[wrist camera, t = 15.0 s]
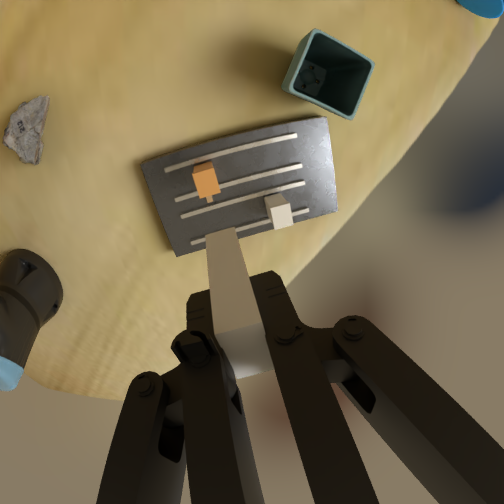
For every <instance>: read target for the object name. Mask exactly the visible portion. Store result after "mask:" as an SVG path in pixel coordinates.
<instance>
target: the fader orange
mask: <svg viewBox="0 0 504 504" xmlns="http://www.w3.org/2000/svg"><path fill="white" fill-rule="evenodd" d="M192 175H193V179H194V182H195V185H196V188H197V191H198V194H199V197H200V199H201V198H204V197H207V196H211V195H214V194H217V193H221V191H220V188H219V184H218V181H217V177H216V174H215V170H214V167H213V165H212V161H210V162H206V163H203V164H200V165H196V166H194V171H193V173H192Z"/></svg>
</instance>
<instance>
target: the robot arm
mask: <svg viewBox="0 0 504 504" xmlns="http://www.w3.org/2000/svg"><path fill="white" fill-rule="evenodd" d="M205 238H206V252H207V264H208V276H209V287H210V289H208V290H204V291H201V292H197V293H193V294H191V295H190V297H189V299H188V301H187V303H186V313H187V314H186V320H187V330H184V331H182V332H181V333H180V334H178V335H177V336H176V337H175V339H174V340H173V342H172V345H171V349H172V351H173V352H174V354H175V355H176V357H177V358H178V360H179V361H180V362H181V363H180V364H179V365H178V366H177V367H176V368H174V369H172V370H171V371H169V372H167V373H165V374H163V375H161V376H160V375H158V374H157V373H155V372H151V371H148V372H143V373H141V374H139V375H137V376H136V377H135V378H134V379H133V380H132V382H131V384H130V386H129V388H128V391H127V394H126V397H125V400H124V404H123V407H122V410H121V413H120V416H119V420H118V423H117V426H116V429H115V432H114V436H113V439H112V443H111V446H110V450H109V454H108V457H107V461H106V465H105V469H104V473H103V476H102V480H101V485H100V489H99V494H98V498H97V502H96V504H180V501H181V495H182V488H183V482H184V475H185V470H186V464H187V471H188V480H189V488H190V496H191V503H192V504H265V503H264V498H263V495H262V490H261V486H260V482H259V478H258V473H257V469H256V465H255V460H254V456H253V451H252V447H251V442H250V437H249V433H248V428H247V423H246V418H245V413H244V409H243V404H242V399H241V393H240V391H239V388H238V386H237V384H236V380H235V375H236V378H237V379H240V378H243V377H247V376H251V375H255V374H259V373H262V372H266V371H269V370H273V369H275V373H276V376H277V380H278V383H279V386H280V390H281V393H282V397H283V400H284V403H285V407H286V410H287V413H288V417H289V420H290V423H291V427H292V430H293V434H294V437H295V440H296V443H297V447H298V450H299V453H300V456H301V460H302V463H303V466H304V469H305V473H306V476H307V479H308V483H309V486H310V489H311V492H312V496H313V498H314V502H315V504H379V502H378V499H377V496H376V494H375V491H374V489H373V486H372V484H371V481H370V479H369V476H368V474H367V471H366V469H365V466H364V464H363V461H362V459H361V456H360V454H359V451H358V449H357V447H356V444H355V442H354V439H353V437H352V434H351V432H350V430H349V427H348V425H347V422H346V420H345V418H344V415H343V413H342V410H341V408H340V406H339V403H338V401H337V398H336V396H335V394H334V391H333V389H332V387H331V384H330V383H336V384H337V385H338V386H339V388H340V389H341V390H342V391H343V392H344V394H345V395H346V396H347V397H348V398H349V400H350V401H351V402H352V403H353V404H354V406H356V408H357V409H358V410H359V411H360V413H361V414H362V415H363V416H364V418H365V419H366V420H367V421H368V422H369V423H370V425H371V426H372V427H373V428H374V429H375V431H376V432H377V433H378V434H379V435H380V436H381V437H382V439H383V440H384V441H385V442H386V443H387V445H388V446H389V447H390V448H391V449H392V450H393V452H394V453H395V454H396V455H397V456H398V457H399V458H400V460H401V461H402V462H403V463H404V464H405V465H406V467H407V468H408V469H409V470H410V471H411V472H412V473H413V475H414V476H415V477H416V478H417V479H418V480H419V481H420V483H421V484H422V485H423V486H424V487H425V488H426V489H427V490H428V492H429V493H430V494H431V495H432V496H433V497H434V498H435V499H436V500H437V502H438V503H439V504H504V449H503V448H502V447H501V446H500V445H499V444H498V443H497V442H496V441H495V440H494V439H493V438H492V437H491V436H490V435H489V434H488V433H487V432H486V431H485V430H484V429H483V428H482V427H481V426H480V425H479V424H478V423H477V422H476V421H475V420H474V419H473V418H472V417H471V416H470V415H469V414H468V413H467V412H466V411H465V410H464V409H463V408H462V407H461V406H460V405H459V404H458V403H457V402H456V401H455V400H454V399H453V398H452V397H451V396H450V395H449V394H448V393H447V392H445V390H444V389H442V388H441V387H440V386H439V385H438V384H437V383H436V382H435V381H434V380H433V379H432V378H431V377H430V376H429V375H428V374H427V373H426V372H424V370H422V369H421V368H420V367H419V366H418V365H417V364H416V363H415V362H414V361H413V360H412V359H411V358H410V357H409V356H407V355H406V354H405V353H404V352H403V351H402V350H401V349H400V348H399V347H398V346H397V345H396V344H394V343H393V342H392V341H391V340H390V339H389V338H388V337H387V336H386V335H384V334H383V333H382V332H381V331H380V330H379V329H378V328H377V327H376V326H375V325H374V324H372V323H371V322H370V321H369V320H367V319H365V318H364V317H361V316H356V315H354V316H347V317H344V318H342V319H340V320H339V321H338V322H337V323H336V324H335V326H334V328H322V329H321V328H312V327H309V326H307V325H305V324H304V323H302V322H301V321H300V319H299V318H298V315H297V313H296V311H295V309H294V306H293V304H292V302H291V300H290V297H289V295H288V293H287V291H286V288H285V286H284V284H283V281H282V279H281V277H280V276H279V275H278V274H277V273H275V272H274V271H272V270H271V271H268V272H264V273H261V274H258V275H254V276H251V277H249V275H248V272H247V269H246V265H245V262H244V258H243V255H242V251H241V248H240V244H239V241H238V237H237V234H236V230H235V227H231V228H228V229H224V230H221V231H217V232H214V233H210V234H207V235H205ZM62 300H63V289H62V285H61V282H60V280H59V278H58V276H57V274H56V273H55V271H54V270H53V269H52V267H51V266H50V265H49V264H48V263H47V262H46V261H45V260H44V259H43V258H41V257H40V256H39V255H37V254H35V253H33V252H31V251H28V250H24V249H17V250H13V251H11V252H10V253H9V254H8V255H7V256H6V257H5V258H4V260H3V261H2V262H1V264H0V390H2V391H11V390H13V389H15V388H16V386H17V384H18V382H19V379H20V378H21V375H22V374H23V372H24V367H25V364H26V362H27V359H28V356H29V354H30V351H31V349H32V346H33V344H34V341H35V339H36V337H37V334H38V332H39V330H40V328H41V327H42V326H43V325H44V324H46V323H47V322H48V321H49V320H50V319H51V318H52V317H53V316H54V315H55V314H56V313H57V312H58V310H59V307H60V305H61V303H62Z"/></svg>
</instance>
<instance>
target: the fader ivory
mask: <svg viewBox="0 0 504 504" xmlns="http://www.w3.org/2000/svg"><path fill="white" fill-rule="evenodd" d="M264 200H265V205H266V210H267V214H268V217H269V219H270V220H271V222H272V224H273V227H274V229H275V230H277V229H280V228H284V227H288V226H291V225H293V219H292V213H291V207H290V203H289V202H287V201H286V199H285V198H284V197H283V196H282V195H281V193H278V194H274V195H270V196H266V197H264Z"/></svg>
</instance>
